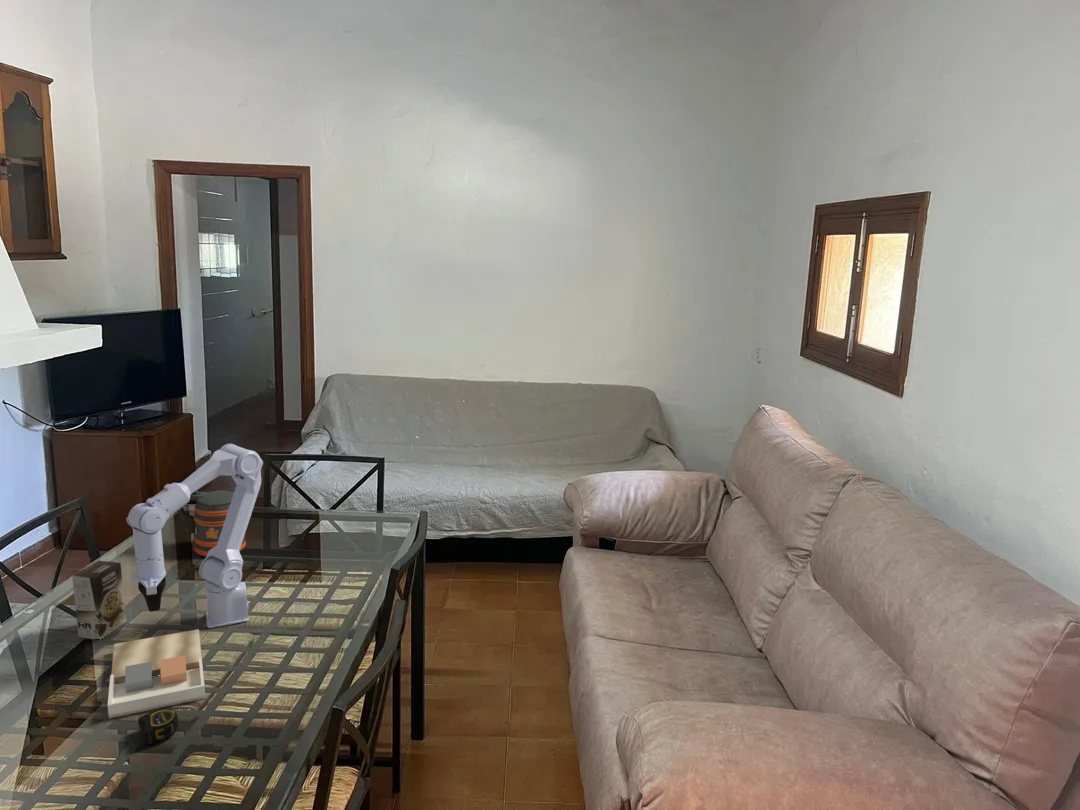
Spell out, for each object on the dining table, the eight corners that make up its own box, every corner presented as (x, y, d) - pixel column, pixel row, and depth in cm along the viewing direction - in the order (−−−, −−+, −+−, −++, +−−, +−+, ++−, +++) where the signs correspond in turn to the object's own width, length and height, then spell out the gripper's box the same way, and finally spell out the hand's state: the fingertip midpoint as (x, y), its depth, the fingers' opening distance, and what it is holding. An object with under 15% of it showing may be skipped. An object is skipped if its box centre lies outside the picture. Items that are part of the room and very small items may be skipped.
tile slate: (152, 669, 176) (151, 661, 174) (152, 687, 172) (151, 679, 170) (126, 674, 173) (125, 666, 172) (126, 692, 170) (125, 684, 168)
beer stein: (171, 559, 234) (166, 494, 229) (186, 539, 248) (181, 477, 243) (239, 557, 236) (235, 493, 232) (250, 537, 250) (247, 476, 246)
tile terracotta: (185, 663, 178) (185, 655, 177) (187, 680, 174) (186, 672, 173) (161, 668, 176) (160, 659, 175) (161, 685, 172) (160, 677, 171)
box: (202, 669, 180) (201, 657, 179) (205, 698, 169) (204, 685, 169) (111, 687, 172) (110, 674, 172) (108, 718, 162) (107, 705, 161)
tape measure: (138, 730, 159) (136, 714, 158) (175, 719, 163) (174, 702, 162) (144, 749, 153) (142, 732, 153) (182, 737, 157) (180, 720, 156)
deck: (199, 636, 193) (198, 629, 193) (202, 669, 180) (201, 661, 180) (115, 651, 186) (114, 644, 185) (111, 686, 173) (110, 678, 172)
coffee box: (101, 641, 190) (94, 578, 186) (77, 637, 191) (70, 575, 187) (128, 622, 199) (121, 562, 195) (105, 619, 200) (98, 559, 196)
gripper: (130, 545, 188) (136, 598, 191) (128, 571, 175) (134, 627, 178) (164, 541, 191) (168, 593, 194) (164, 566, 178) (169, 621, 181)
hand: (154, 609), depth 186 cm, fingers closed
